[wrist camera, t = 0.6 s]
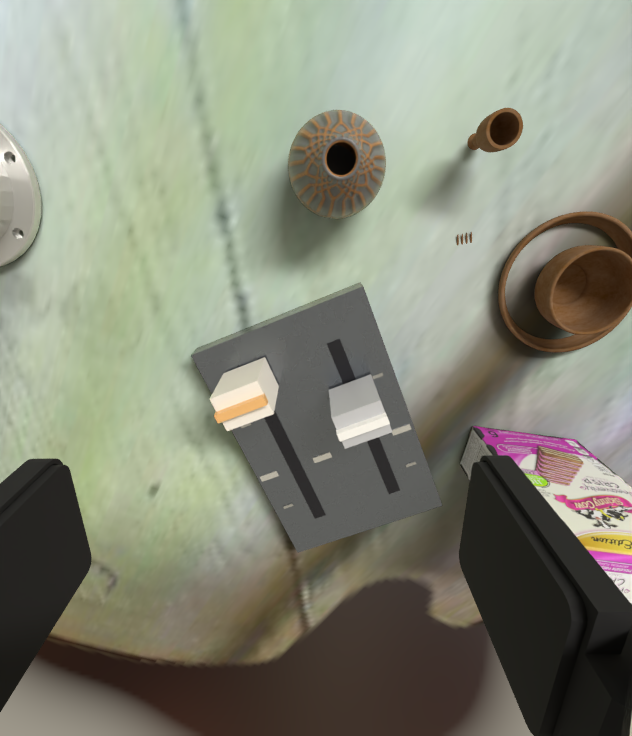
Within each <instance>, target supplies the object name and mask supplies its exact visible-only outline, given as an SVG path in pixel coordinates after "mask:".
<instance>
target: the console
mask: <svg viewBox="0 0 632 736" xmlns="http://www.w3.org/2000/svg"><path fill="white" fill-rule="evenodd" d="M191 357H192V358H193V360H194V362H195V364H196V366H197V368H198V370H199V371H200V373H201V375H202V377H203V379H204V381H205V382H206V384H207V386H208V388H209V390H210V392H211V394H213V392H214V390H215V388H216V386H217V384H218V383H219V381H220V379H221V377H222V375H223V373H226V372H228V371H231V370H233V369H236V368H238V367H241V366H243V365H246V364H249V363H251V362H254V361H256V360H259V359H261V358H264V357H265V358H266V360H267V362H268V365H269V367H270V369H271V371H272V373H273V375H274V377H275V379H276V381H277V383H278V386H279V389H278V394H277V399H276V405H275V410H274V414H273V415H270V416H267V417H264V418H262V419H259V420H256V421H254V422H251V423H248V424H246V425H243V426H240V427H238V428H235V429H232V432H233V434H234V436H235V438H236V440H237V442H238V443H239V445H240V447H241V449H242V451H243V453H244V454H245V456H246V458H247V460H248V462H249V464H250V466H251V467H252V469H253V471H254V473H255V475H256V477H257V478H258V480H259V482H260V484H261V486H262V488H263V490H264V491H265V493H266V495H267V497H268V499H269V501H270V502H271V504H272V506H273V508H274V510H275V512H276V514H277V515H278V517H279V519H280V521H281V523H282V525H283V526H284V528H285V530H286V532H287V534H288V536H289V538H290V539H291V541H292V543H293V545H294V547H295V549H296V550H297V552H301V551H304V550H307V549H310V548H314V547H317V546H320V545H323V544H326V543H329V542H332V541H335V540H338V539H341V538H344V537H347V536H351V535H354V534H357V533H360V532H363V531H366V530H369V529H372V528H375V527H378V526H381V525H384V524H388V523H391V522H394V521H397V520H400V519H403V518H406V517H409V516H412V515H415V514H418V513H421V512H425V511H428V510H431V509H434V508H437V507H440V506H442V503H441V500H440V498H439V495H438V492H437V489H436V487H435V484H434V481H433V478H432V475H431V473H430V470H429V467H428V464H427V462H426V459H425V456H424V453H423V451H422V448H421V445H420V442H419V439H418V437H417V434H416V431H415V428H414V426H413V423H412V420H411V417H410V415H409V412H408V409H407V406H406V403H405V401H404V398H403V395H402V392H401V390H400V387H399V384H398V381H397V379H396V376H395V373H394V370H393V368H392V365H391V362H390V359H389V356H388V354H387V351H386V348H385V345H384V343H383V340H382V337H381V334H380V332H379V329H378V326H377V323H376V320H375V318H374V315H373V312H372V309H371V307H370V304H369V301H368V298H367V296H366V293H365V290H364V287H363V285H362V284H361V282H360V283H358V284H355V285H353V286H350V287H348V288H345V289H343V290H340V291H338V292H335V293H333V294H330V295H328V296H325V297H323V298H320V299H318V300H315V301H313V302H311V303H308V304H306V305H303V306H301V307H298V308H296V309H293V310H291V311H288V312H286V313H283V314H281V315H278V316H276V317H273V318H271V319H268V320H266V321H263V322H261V323H258V324H256V325H254V326H251V327H249V328H246V329H244V330H241V331H239V332H236V333H234V334H231V335H229V336H226V337H224V338H221V339H219V340H216V341H214V342H211V343H209V344H206V345H204V346H201V347H199V348H197V349H196V350H195V351H194V352H193V353H192V355H191ZM370 374H371V376H372V379H373V381H374V384H375V387H376V389H377V392H378V394H379V397H380V400H381V402H382V405H383V408H384V410H385V412H386V414H387V417H388V420H389V422H390V426H391V429H392V433H389V434H386V435H383V436H380V437H377V438H375V439H372V440H369V441H366V442H363V443H360V444H358V445H355V446H352V447H349V448H346V449H345V448H344V445H343V443H342V441H341V442H340V441H339V439H338V436H337V433H336V430H337V429H336V427H335V425H334V423H333V420H332V418H331V408H330V398H329V390H330V389H332V388H335V387H338V386H340V385H343V384H346V383H349V382H351V381H354V380H357V379H359V378H362V377H365V376H367V375H370Z"/></svg>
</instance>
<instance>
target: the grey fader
mask: <svg viewBox="0 0 632 736" xmlns="http://www.w3.org/2000/svg"><path fill="white" fill-rule="evenodd" d="M329 398H330V408H331V418H332V420H333V423H334V425H335V427H336V429H337V430H336V433H337V436H338V439H339V441H340V442H341V441H342V443H343V445H344V448H345V449H346V448H349V447H352V446H355V445H358V444H360V443H363V442H366V441H369V440H372V439H375V438H377V437H380V436H383V435H386V434H389V433H392V429H391V426H390V422H389V420H388V417H387V414H386V412H385V410H384V408H383V405H382V402H381V400H380V397H379V394H378V392H377V389H376V387H375V384H374V381H373V379H372V376H371V374H370V375H367V376H365V377H362V378H359V379H357V380H354V381H351V382H349V383H346V384H343V385H340V386H338V387H335V388H332V389H330V390H329Z"/></svg>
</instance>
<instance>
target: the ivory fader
mask: <svg viewBox="0 0 632 736" xmlns="http://www.w3.org/2000/svg"><path fill="white" fill-rule="evenodd" d="M278 389H279V386H278V383H277V381H276V379H275V377H274V375H273V373H272V371H271V369H270V367H269V365H268V362H267V360H266V358H265V357H264V358H261V359H259V360H256V361H254V362H251V363H249V364H246V365H243V366H241V367H238V368H236V369H233V370H231V371H228V372H226V373H223V375H222V377H221V379H220V381H219V383H218V384H217V386H216V388H215V390H214V392H213V394H212V395H211V397H210V401H211V403H212V405H213V407H214V409H215V410H216V412H215V415H214V417H215V419H216V421H217V423H221V422H222V423H223V425H224V427H225V429H226V430H227V431H230V430H232V429H235V428H238V427H240V426H243V425H246V424H248V423H251V422H254V421H256V420H259V419H262V418H264V417H267V416H270V415H273V414H274V410H275V405H276V399H277V394H278Z"/></svg>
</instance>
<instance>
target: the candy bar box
mask: <svg viewBox="0 0 632 736" xmlns="http://www.w3.org/2000/svg"><path fill="white" fill-rule="evenodd" d="M484 455H508V456H510V457H511V458H512V459H513V460H514V461H515V463H516V464H517V465H518V466H519V467H520V469H521V470H522V471H523V472H524V474H525V475H526V476H527V477H528V479H529V480H530V481H531V482H532V483H533V485H534V486H535V487H536V488H537V490H538V491H539V492H540V493H541V495H542V496H543V497H544V498H545V499H546V501H547V502H548V503H549V504H550V506H551V507H552V508H553V509H554V511H555V512H556V513H557V514H558V515H559V517H560V518H561V519H562V520H563V521H564V522H565V523H566V524H567V526H568V527H569V528H570V529H571V531H572V532H573V533H574V534H575V536H576V537H577V538H578V539H579V540H580V542H581V543H582V544H583V545H584V547H585V548H586V549H587V550H588V551H589V553H590V554H591V555H592V556H593V558H594V559H595V560H596V561H597V563H598V564H599V565H600V566H601V567H602V569H603V570H604V571H605V572H606V574H607V575H608V576H609V577H610V578H611V580H612V581H613V582H614V583H615V585H616V586H617V587H618V588H619V590H620V591H621V592H622V593H623V594H624V596H625V597H626V598H627V599H628V601H629V602H630V603H631V604H632V487H631V486H629V485H628V484H627V483H626V482H625V481H624V480H623V479H621V478H620V477H619V476H618V475H616V474H615V473H614V472H613V471H612V470H611V469H609V468H608V467H607V466H606V465H605V464H604V463H602V462H601V461H600V460H599V459H598V458H596V457H595V456H594V455H593V454H592V453H591V452H589V451H588V450H587V449H586V448H585V447H584V446H582V445H581V444H580V443H579V442H578V441H577V440H575V439H567V438H559V437H552V436H543V435H535V434H528V433H521V432H513V431H506V430H499V429H491V428H484V427H477V426H473V427H472V429H471V431H470V434H469V438H468V442H467V445H466V448H465V450H464V453H463V456H462V459H461V462H460V465H461V467H462V469H463V470H464V472H465V474H466V475H467V477H468V479H469V480H470V477H471V470H472V465H473V463H474V462H479V461H480V459H481V457H482V456H484Z"/></svg>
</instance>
